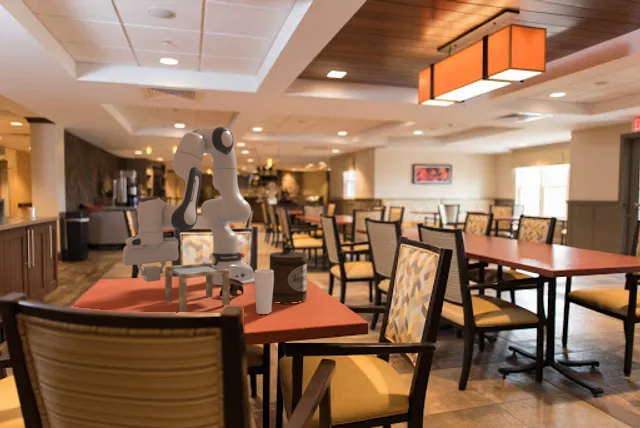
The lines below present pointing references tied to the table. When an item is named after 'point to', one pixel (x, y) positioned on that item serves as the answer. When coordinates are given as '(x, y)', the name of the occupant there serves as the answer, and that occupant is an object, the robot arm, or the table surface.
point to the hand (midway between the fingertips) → (151, 274)
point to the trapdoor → (196, 270)
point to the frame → (196, 274)
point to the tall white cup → (263, 290)
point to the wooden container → (289, 275)
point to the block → (152, 273)
